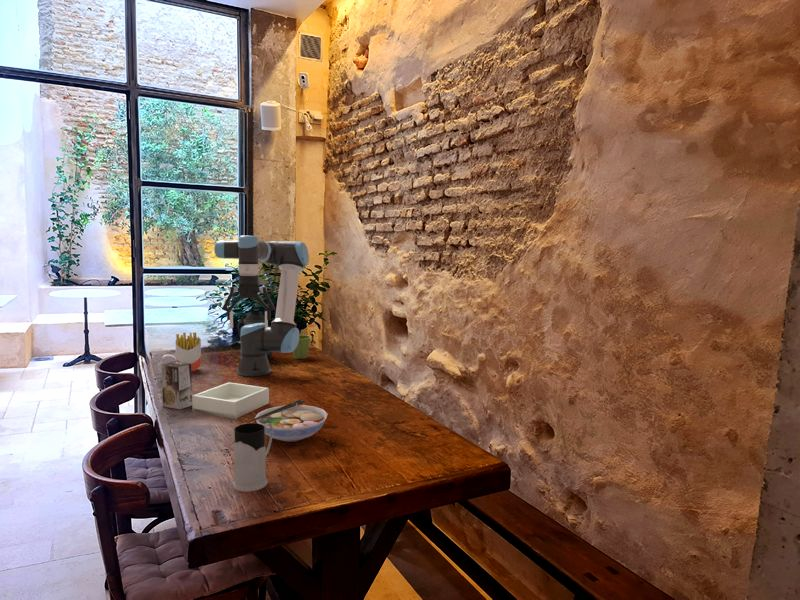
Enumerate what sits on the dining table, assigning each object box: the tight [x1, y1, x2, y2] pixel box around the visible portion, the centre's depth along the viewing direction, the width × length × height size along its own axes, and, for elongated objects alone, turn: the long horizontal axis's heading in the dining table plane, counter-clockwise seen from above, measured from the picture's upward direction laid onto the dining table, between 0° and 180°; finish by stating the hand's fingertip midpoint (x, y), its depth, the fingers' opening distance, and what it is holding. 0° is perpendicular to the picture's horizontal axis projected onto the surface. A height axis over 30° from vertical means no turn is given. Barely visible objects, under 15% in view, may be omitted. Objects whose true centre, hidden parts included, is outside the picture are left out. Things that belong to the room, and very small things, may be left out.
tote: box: [191, 381, 270, 420], centre depth 201 cm, size 19×20×6 cm
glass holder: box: [232, 422, 273, 492], centre depth 141 cm, size 9×14×15 cm, turn 159°
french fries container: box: [175, 331, 202, 372], centre depth 253 cm, size 5×11×18 cm, turn 105°
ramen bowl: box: [247, 399, 329, 443], centre depth 171 cm, size 25×23×8 cm
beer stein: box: [237, 310, 273, 361], centre depth 281 cm, size 16×19×25 cm
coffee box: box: [160, 360, 193, 410], centre depth 201 cm, size 9×6×16 cm
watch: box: [156, 354, 177, 372], centre depth 238 cm, size 6×8×11 cm
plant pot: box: [292, 334, 312, 360], centre depth 285 cm, size 12×12×11 cm
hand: (249, 328), depth 214 cm, fingers open, 13 cm apart
